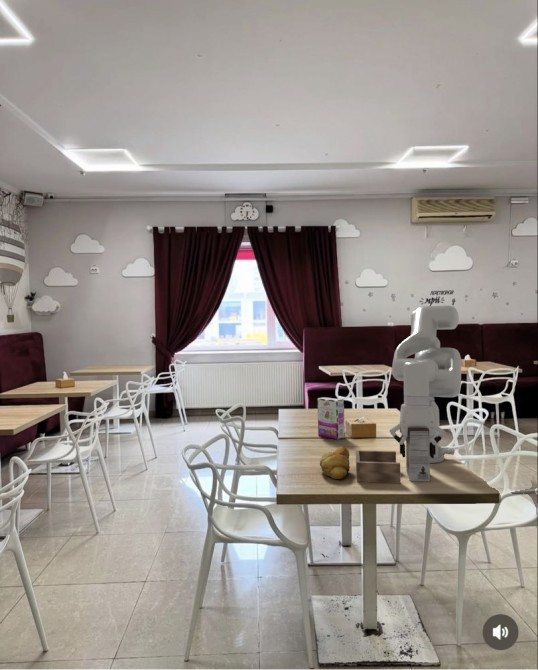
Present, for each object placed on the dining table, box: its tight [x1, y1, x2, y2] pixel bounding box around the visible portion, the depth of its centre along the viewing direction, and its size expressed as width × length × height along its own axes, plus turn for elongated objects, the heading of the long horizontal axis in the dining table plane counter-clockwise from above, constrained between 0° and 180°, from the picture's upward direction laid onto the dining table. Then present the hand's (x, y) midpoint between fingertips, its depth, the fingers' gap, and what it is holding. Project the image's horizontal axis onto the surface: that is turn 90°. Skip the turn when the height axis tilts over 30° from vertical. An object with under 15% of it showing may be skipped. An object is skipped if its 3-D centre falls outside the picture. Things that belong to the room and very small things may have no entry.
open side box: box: [355, 449, 401, 484], centre depth 141 cm, size 13×13×6 cm
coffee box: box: [405, 428, 431, 482], centre depth 139 cm, size 9×6×16 cm
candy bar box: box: [317, 396, 346, 440], centre depth 190 cm, size 11×5×16 cm, turn 42°
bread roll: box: [319, 446, 350, 480], centre depth 143 cm, size 13×10×8 cm
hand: (417, 456), depth 139 cm, fingers open, 8 cm apart
